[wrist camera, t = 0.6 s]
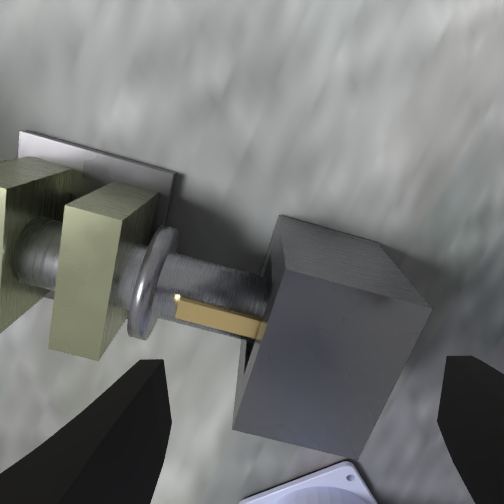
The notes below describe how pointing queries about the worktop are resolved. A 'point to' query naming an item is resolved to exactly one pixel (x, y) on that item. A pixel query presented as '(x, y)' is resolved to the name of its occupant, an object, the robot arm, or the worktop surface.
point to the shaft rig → (107, 251)
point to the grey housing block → (326, 340)
